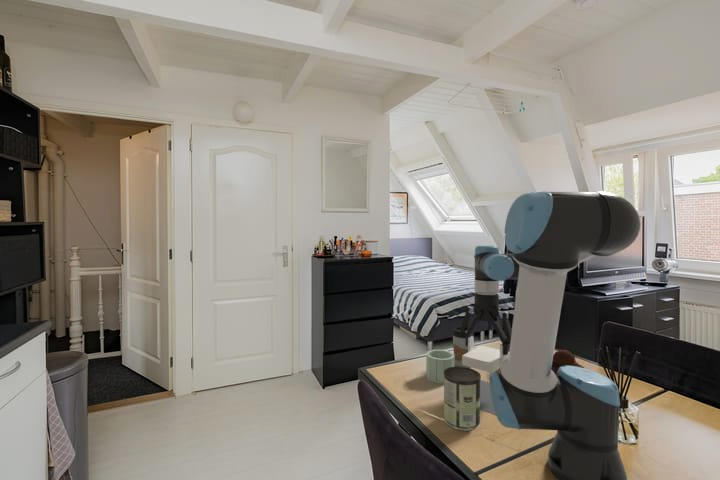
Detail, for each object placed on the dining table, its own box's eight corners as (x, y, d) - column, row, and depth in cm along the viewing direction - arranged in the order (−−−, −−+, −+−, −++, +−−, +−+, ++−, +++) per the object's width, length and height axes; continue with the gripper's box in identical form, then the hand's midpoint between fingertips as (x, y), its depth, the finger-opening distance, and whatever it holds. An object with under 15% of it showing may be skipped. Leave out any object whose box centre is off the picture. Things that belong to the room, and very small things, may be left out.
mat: (497, 417, 104) (497, 415, 104) (448, 399, 115) (448, 398, 115) (520, 393, 119) (520, 392, 119) (475, 379, 130) (475, 378, 130)
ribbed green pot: (445, 387, 124) (445, 361, 123) (421, 378, 130) (421, 354, 130) (459, 378, 131) (459, 354, 131) (435, 370, 138) (435, 347, 137)
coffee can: (461, 408, 109) (461, 363, 109) (488, 424, 101) (488, 376, 100) (435, 417, 104) (436, 370, 104) (461, 435, 95) (462, 384, 95)
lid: (492, 373, 108) (492, 363, 108) (462, 364, 114) (462, 355, 114) (509, 360, 118) (509, 351, 118) (480, 353, 125) (480, 345, 125)
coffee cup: (447, 364, 144) (448, 328, 143) (463, 360, 147) (464, 325, 147) (461, 372, 136) (462, 333, 136) (478, 368, 140) (478, 330, 139)
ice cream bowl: (590, 402, 113) (591, 356, 112) (552, 399, 115) (553, 354, 114) (577, 387, 123) (578, 345, 122) (542, 384, 125) (543, 343, 125)
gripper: (526, 295, 111) (526, 365, 111) (460, 287, 126) (459, 349, 127) (518, 298, 105) (517, 372, 106) (449, 290, 120) (449, 355, 121)
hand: (486, 360), depth 116 cm, fingers closed on lid, 10 cm apart
